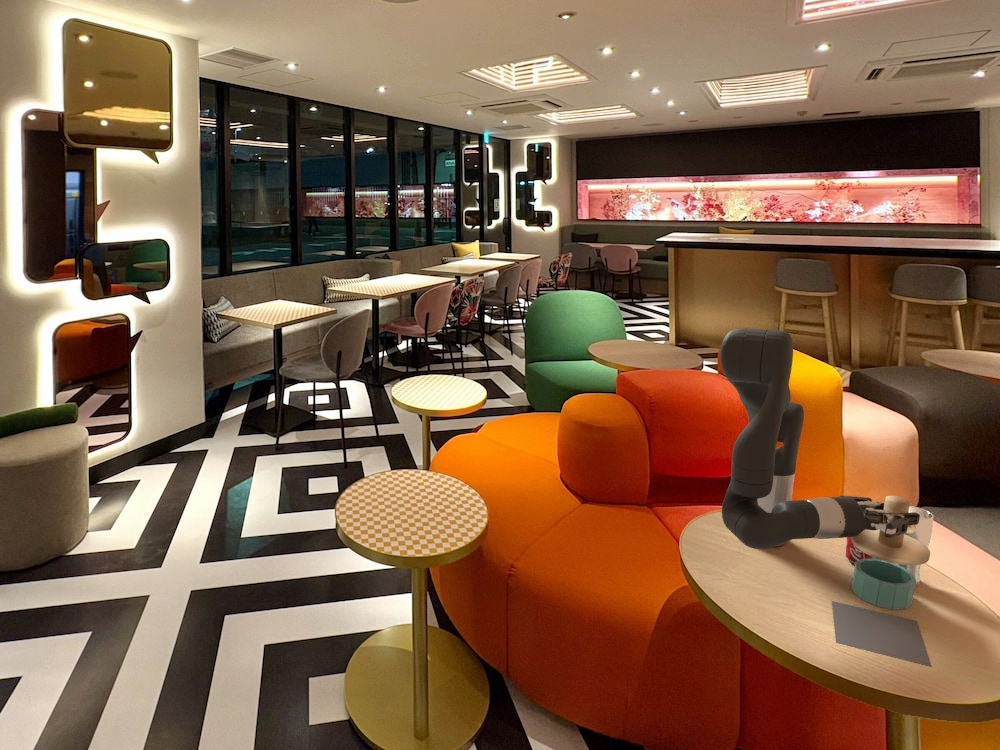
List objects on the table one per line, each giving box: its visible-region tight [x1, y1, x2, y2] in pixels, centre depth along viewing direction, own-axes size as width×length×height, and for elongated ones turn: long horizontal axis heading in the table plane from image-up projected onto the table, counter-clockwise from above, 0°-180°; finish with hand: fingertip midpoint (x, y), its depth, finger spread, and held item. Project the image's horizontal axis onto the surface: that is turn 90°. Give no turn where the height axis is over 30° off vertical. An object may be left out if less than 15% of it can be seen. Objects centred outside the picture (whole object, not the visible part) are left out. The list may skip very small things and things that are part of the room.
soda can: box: [844, 537, 881, 565], centre depth 135 cm, size 7×7×12 cm
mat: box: [831, 600, 933, 668], centre depth 112 cm, size 14×14×1 cm
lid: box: [851, 495, 931, 565], centre depth 120 cm, size 13×13×10 cm
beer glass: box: [891, 505, 935, 586], centre depth 128 cm, size 7×7×15 cm
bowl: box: [851, 559, 916, 611], centre depth 123 cm, size 10×10×5 cm
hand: (907, 513), depth 120 cm, fingers closed on lid, 4 cm apart
